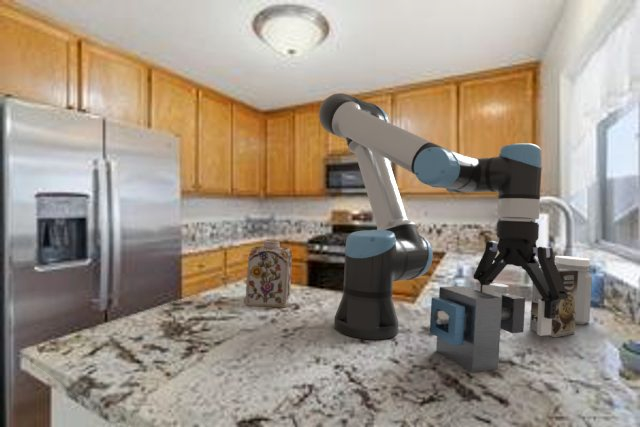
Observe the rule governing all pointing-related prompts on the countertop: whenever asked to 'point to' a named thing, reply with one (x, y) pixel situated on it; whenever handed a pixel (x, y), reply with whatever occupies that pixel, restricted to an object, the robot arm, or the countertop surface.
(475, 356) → the block
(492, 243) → the robot arm
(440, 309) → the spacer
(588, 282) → the jar
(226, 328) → the countertop surface
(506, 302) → the shaft
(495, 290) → the pill bottle
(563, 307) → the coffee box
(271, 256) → the decorative jar
